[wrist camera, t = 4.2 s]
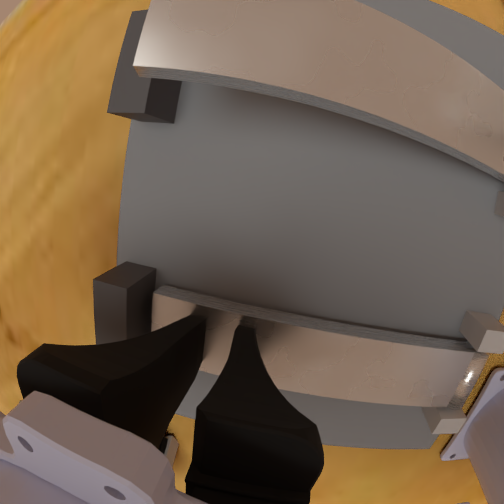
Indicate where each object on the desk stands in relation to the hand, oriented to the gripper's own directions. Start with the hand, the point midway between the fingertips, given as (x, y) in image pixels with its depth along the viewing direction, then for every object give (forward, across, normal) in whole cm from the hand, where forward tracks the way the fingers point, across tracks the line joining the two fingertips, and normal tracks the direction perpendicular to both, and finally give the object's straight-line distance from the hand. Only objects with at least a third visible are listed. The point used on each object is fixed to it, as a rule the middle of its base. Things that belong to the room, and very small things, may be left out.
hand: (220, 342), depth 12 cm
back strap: (+1, -4, 0) cm, 5 cm away
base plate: (+3, -4, -5) cm, 7 cm away
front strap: (-1, -5, -10) cm, 11 cm away
